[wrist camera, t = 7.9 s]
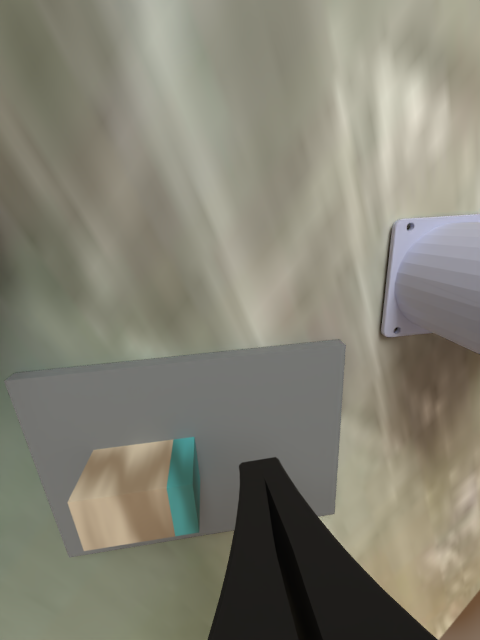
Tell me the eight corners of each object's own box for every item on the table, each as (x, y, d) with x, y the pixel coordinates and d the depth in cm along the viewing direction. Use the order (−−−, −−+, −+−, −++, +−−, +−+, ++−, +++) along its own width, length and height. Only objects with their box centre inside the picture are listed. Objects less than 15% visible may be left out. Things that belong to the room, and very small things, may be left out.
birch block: (192, 484, 17) (67, 502, 16) (199, 532, 18) (84, 551, 17) (194, 436, 21) (93, 449, 20) (200, 479, 22) (105, 493, 21)
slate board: (339, 339, 21) (345, 344, 20) (329, 503, 26) (334, 513, 25) (14, 372, 18) (4, 380, 18) (74, 544, 24) (69, 557, 23)
